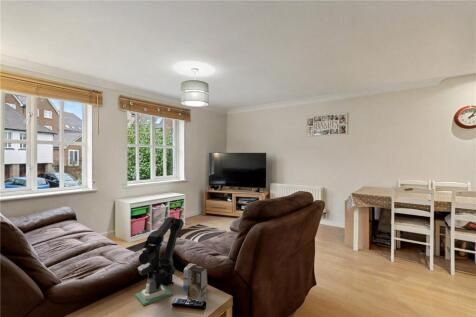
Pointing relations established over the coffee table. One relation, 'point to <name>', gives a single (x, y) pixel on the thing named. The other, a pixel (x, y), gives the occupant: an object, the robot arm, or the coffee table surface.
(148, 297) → the dock
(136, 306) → the coffee table surface
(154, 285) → the plug
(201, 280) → the coffee box
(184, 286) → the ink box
